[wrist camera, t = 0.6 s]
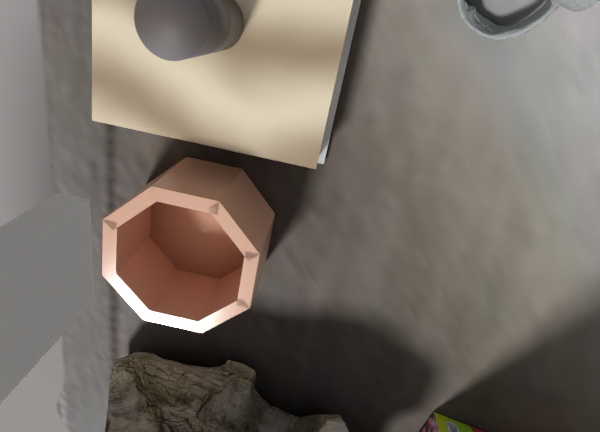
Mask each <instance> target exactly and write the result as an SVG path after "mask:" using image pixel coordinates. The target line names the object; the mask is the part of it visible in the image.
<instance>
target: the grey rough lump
mask: <svg viewBox="0 0 600 432" xmlns="http://www.w3.org/2000/svg"><path fill="white" fill-rule="evenodd" d="M255 380H256V373H255V370H253V369H251V368H250V367H248V366H246V365H244V364H242V363H238V362H234V361H230V360H227V362H226V363H225V364H224V365H222V366H220V367H211V368H207V367H199V366H190V365H185V364H181V363H178V362H175V361H172V360H166V359H162V358H160V357H158V356H157V355H155V354H153V353H147V352H137V351H136V352H134V353H132V354H130V355H128V356H126V357H123V358H120V359H118V360H117V361H116V362H115V363H114V366H113V370H112V376H111V382H110V390H109V401H108V411H107V420H106V427H105V428H106V429H105V432H349V431H348V428H347V425H346V423H345V422H344V421H343V419H342V418H341V415H329V414H326V415H321V414H313V415H309V416H305V417H296V416H293V415H291V414H288V413H285V412H284V411H282V410H281V409H279V408H276V407H273V406H270V405H269V404H268V403H267V402H266V401H265V400H264V399H262V398H261V397H260V395H259V394H258V393H257V392H256V390H255V387H254V385H255Z"/></svg>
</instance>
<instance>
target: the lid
mask: <svg viewBox="0 0 600 432" xmlns="http://www.w3.org/2000/svg"><path fill="white" fill-rule="evenodd" d="M352 4H353V0H92V120H93V121H98V122H102V123H107V124H111V125H116V126H120V127H125V128H130V129H134V130H139V131H143V132H148V133H152V134H157V135H161V136H166V137H171V138H175V139H180V140H184V141H189V142H193V143H198V144H202V145H207V146H212V147H216V148H221V149H225V150H230V151H234V152H239V153H244V154H248V155H253V156H257V157H262V158H266V159H271V160H275V161H280V162H285V163H289V164H294V165H298V166H303V167H307V168H312V169H316V167H317V162H318V158H319V153H320V149H321V144H322V140H323V135H324V131H325V126H326V122H327V117H328V113H329V108H330V104H331V99H332V94H333V90H334V85H335V81H336V76H337V72H338V67H339V63H340V58H341V54H342V49H343V45H344V40H345V36H346V31H347V27H348V22H349V18H350V13H351V8H352Z"/></svg>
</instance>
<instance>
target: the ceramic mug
mask: <svg viewBox="0 0 600 432" xmlns="http://www.w3.org/2000/svg"><path fill="white" fill-rule="evenodd" d="M598 1H600V0H548V1H547V2H546V3H545V4H544V5H543V6H542V7H541V8H540V9H539V10H537V11H536V12H535V13H534V14H532V15H531V16H529V17H528V18H526V19H525V20H523V21H521V22H519V23H516V24H514V25H510V26H501V25H495V24H494V23H492V22H491V21H489V20H488V19H486V18H484V17H483V16H482V15H480V14H479V13H478V12H477V11H476V8H475V6H472V5H468V4H467V2H465V0H457V7H458V11H459V13H460V16H461V18H462V20H463V21H464V22H465V23H466V25H467V26H468V27H469V28H470V29H472V30H473V31H474V32H476V33H478V34H479V35H481V36H483V37H486V38H489V39H493V40H503V39H509V38H512V37H516V36H519V35H521V34H523V33H526V32H528V31H529V30H531V29H532V28H534V27H535V26H537V25H539V24H540V23H541V22H542V21H544V20H545V19H546V18H547V17H549V16H550V15H551V14H552V13H553V12H554V11H555V10H556V9H557V8H558V7H559V6H562V7H565V8H567V9H569V10H572V11H574V12H578V11H582V10H585V9H587V8H589V7H591V6H592V5H594V4H595V3H597V2H598Z"/></svg>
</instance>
